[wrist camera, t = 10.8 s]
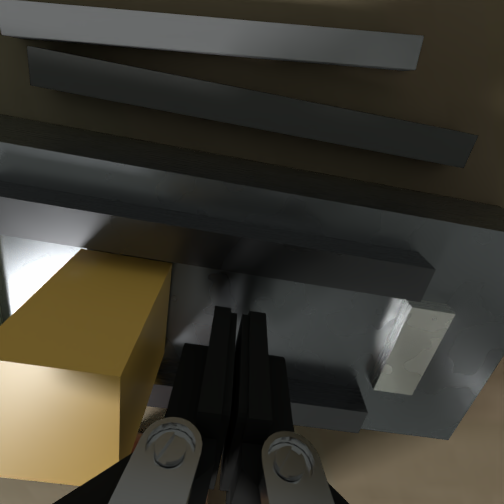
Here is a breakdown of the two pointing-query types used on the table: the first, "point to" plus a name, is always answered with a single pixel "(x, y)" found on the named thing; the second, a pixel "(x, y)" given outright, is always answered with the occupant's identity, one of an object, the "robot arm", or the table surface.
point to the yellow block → (81, 367)
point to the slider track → (274, 267)
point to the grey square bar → (208, 35)
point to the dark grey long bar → (246, 107)
